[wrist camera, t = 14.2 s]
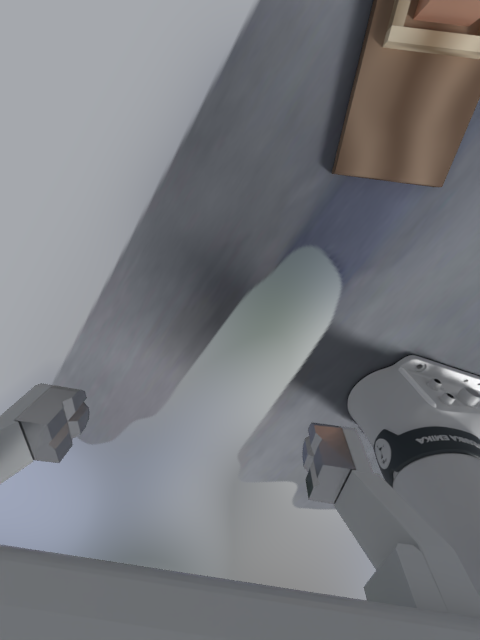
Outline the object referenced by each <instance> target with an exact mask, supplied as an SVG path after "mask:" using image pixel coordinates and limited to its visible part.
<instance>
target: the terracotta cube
mask: <svg viewBox="0 0 480 640" xmlns="http://www.w3.org/2000/svg"><path fill="white" fill-rule="evenodd" d="M479 18H480V0H419V1H418V5H417V8H416V11H415V15H414V18H413V20H418V21H427V22H435V23H443V24H452V25H460V26H468V27H469V26H470V25H471V24H473V23H474V22H475V21H477V20H478V19H479Z"/></svg>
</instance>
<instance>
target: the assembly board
mask: <svg viewBox="0 0 480 640" xmlns="http://www.w3.org/2000/svg"><path fill="white" fill-rule="evenodd" d="M418 1H419V0H374V1H373V5H372V9H371V13H370V17H369V21H368V25H367V30H366V34H365V38H364V42H363V46H362V50H361V54H360V58H359V63H358V67H357V71H356V75H355V79H354V83H353V87H352V91H351V96H350V100H349V104H348V108H347V112H346V116H345V120H344V124H343V129H342V133H341V137H340V141H339V145H338V149H337V153H336V157H335V162H334V166H333V170H332V174H338V175H346V176H353V177H361V178H369V179H376V180H384V181H392V182H400V183H407V184H415V185H423V186H430V187H442V186H443V184H444V181H445V179H446V176H447V174H448V172H449V169H450V167H451V165H452V162H453V160H454V157H455V155H456V153H457V150H458V148H459V146H460V143H461V141H462V138H463V136H464V134H465V131H466V129H467V127H468V124H469V122H470V119H471V117H472V115H473V112H474V110H475V107H476V105H477V103H478V100H479V98H480V18H479V19H478V20H477V21H475V22H474V23H473V24H471V25H470V26H469V27H468V26H460V25H452V24H443V23H435V22H427V21H418V20H413V18H414V15H415V11H416V8H417V5H418Z"/></svg>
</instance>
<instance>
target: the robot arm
mask: <svg viewBox="0 0 480 640" xmlns="http://www.w3.org/2000/svg"><path fill="white" fill-rule="evenodd" d="M419 364H420V365H419ZM417 365H419V366H417ZM86 398H87V397H86V394H85V391H83V390H79V389H73V388H67V387H61V386H54V385H48V384H38V385H36V386H34V387H33V388H32V389H31V390H30V391H28V392H27V393H26V394H25V395H24V396H23V397H22V398H20V399H19V400H18V401H17V402H16V403H15V404H14V405H12V406H11V407H10V408H9V409H8V410H7V411H5V412H4V413H3V414H2V415H1V416H0V484H1V483H3V482H4V481H6V480H7V479H9V478H10V477H12V476H13V475H15V474H16V473H18V472H19V471H20V470H22V469H23V468H25V467H26V466H28V465H29V464H31V463H32V462H33V460H37V461H46V462H55V463H60V461H61V460H62V459H63V457H64V456H65V455H66V453H67V452H68V451H69V449H70V448H71V447H72V439H73V438H75V437H77V436H78V435H80V434H81V433H82V432H83V430H84V429H85V427H86V425H87V422H88V420H89V413H90V412H89V407H88V406H87V405H86V404H85V403H84V401H85V400H86ZM347 406H348V411H349V413H350V415H351V417H352V418H353V419H354V420H355V422H356V423H357V424H358V425H359V427H360V428H361V429H362V431H363V432H364V434H365V436H366V437H367V439H368V440H369V442H370V444H371V445H372V447H373V449H374V452H375V456H376V459H377V462H378V465H379V467H380V470H381V472H382V474H383V477H384V479H385V480H384V479H383V478H382V477H381V476H380V475H379V474H376V473H374V472H373V470H372V467H371V464H370V462H369V459H368V457H367V454H366V452H365V449H364V447H363V444H362V442H361V439H360V437H359V434H358V432H357V430H356V429H355V428H349V427H341V426H340V427H339V426H334V425H327V424H319V423H311V424H310V425H309V428H308V433H309V436H308V437H306V438H305V440H304V444H303V451H302V458H303V466H304V468H305V469H306V470H307V472H308V474H307V476H306V479H305V480H306V486H307V493H308V499H309V500H312V501H318V502H324V503H329V504H335V505H334V506H335V508H336V509H337V511H338V512H339V514H340V516H341V517H342V519H343V520H344V522H345V523H346V525H347V526H348V528H349V529H350V531H351V532H352V533H353V535H354V537H355V538H356V540H357V541H358V543H359V545H360V546H361V548H362V549H363V551H364V552H365V554H366V555H367V557H368V558H369V560H370V561H371V563H372V564H373V566H374V567H375V569H376V572H375V573H374V574H373V575H372V577H371V578H370V579H369V581H368V582H367V583H366V585H365V586H364V590H365V594H366V598H367V601H366V600H360V599H353V598H347V597H340V596H333V595H327V594H320V593H313V592H307V591H300V590H294V589H288V588H281V587H275V586H268V585H262V584H255V583H247V582H242V581H234V580H229V579H222V578H215V577H208V576H202V575H196V574H189V573H183V572H176V571H170V570H163V569H157V568H150V567H143V566H137V565H131V564H124V563H117V562H111V561H104V560H98V559H91V558H85V557H78V556H72V555H64V554H58V553H52V552H45V551H39V550H32V549H25V548H19V547H12V546H6V545H0V640H480V376H477V375H474V374H470V373H467V372H464V371H461V370H458V369H455V368H452V367H449V366H446V365H443V364H440V363H437V362H434V361H431V360H428V359H425V358H422V357H419V356H415V355H409V356H407V357H405V358H403V359H401V360H400V361H398V362H397V363H396V364H394V365H392V366H390V367H387V368H384V369H381V370H378V371H376V372H373V373H371V374H369V375H368V376H366V377H365V378H363V379H362V380H361V381H359V382H358V383H357V384H356V385H355V387H354V388H353V389H352V391H351V393H350V395H349V397H348V403H347Z"/></svg>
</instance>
